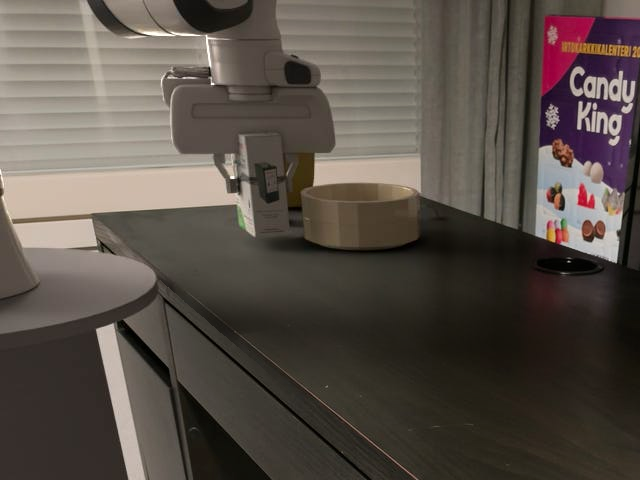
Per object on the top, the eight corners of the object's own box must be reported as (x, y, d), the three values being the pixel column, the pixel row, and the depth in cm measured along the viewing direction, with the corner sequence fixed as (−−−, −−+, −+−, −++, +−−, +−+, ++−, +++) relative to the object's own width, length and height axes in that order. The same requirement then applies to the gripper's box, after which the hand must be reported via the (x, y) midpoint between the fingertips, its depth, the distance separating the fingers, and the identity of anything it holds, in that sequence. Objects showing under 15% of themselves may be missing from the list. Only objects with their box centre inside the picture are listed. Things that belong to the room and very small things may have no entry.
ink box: (237, 225, 124) (225, 126, 118) (273, 223, 126) (263, 125, 119) (254, 238, 118) (242, 134, 111) (291, 235, 120) (282, 133, 113)
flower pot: (252, 202, 147) (245, 139, 142) (306, 199, 150) (300, 137, 145) (265, 212, 141) (258, 146, 135) (320, 209, 144) (315, 144, 138)
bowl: (308, 254, 118) (304, 203, 114) (301, 230, 130) (297, 183, 127) (428, 250, 121) (427, 201, 117) (410, 227, 133) (408, 181, 130)
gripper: (156, 68, 107) (176, 197, 115) (332, 69, 111) (340, 195, 119) (159, 65, 112) (178, 189, 120) (328, 66, 116) (335, 187, 124)
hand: (260, 192), depth 119 cm, fingers closed on ink box, 5 cm apart
